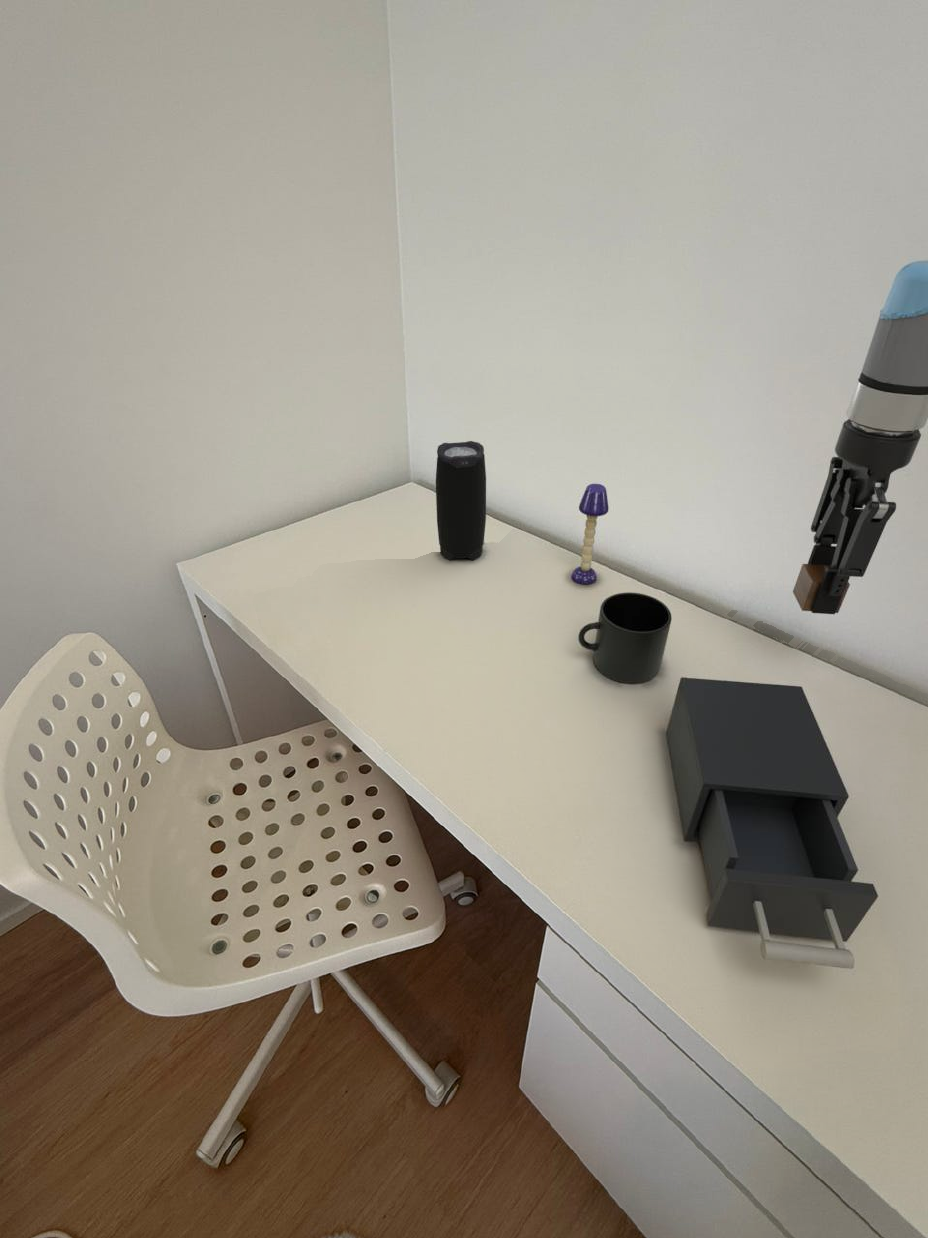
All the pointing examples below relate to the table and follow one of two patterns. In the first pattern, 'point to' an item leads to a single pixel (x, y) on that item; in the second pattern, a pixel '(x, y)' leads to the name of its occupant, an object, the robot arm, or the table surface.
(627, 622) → the mug
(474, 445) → the portable speaker
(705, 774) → the cabinet
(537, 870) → the table surface
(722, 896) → the drawer
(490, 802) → the table surface
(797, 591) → the block
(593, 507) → the toy lamp
